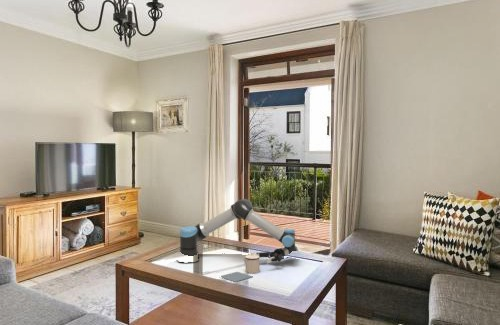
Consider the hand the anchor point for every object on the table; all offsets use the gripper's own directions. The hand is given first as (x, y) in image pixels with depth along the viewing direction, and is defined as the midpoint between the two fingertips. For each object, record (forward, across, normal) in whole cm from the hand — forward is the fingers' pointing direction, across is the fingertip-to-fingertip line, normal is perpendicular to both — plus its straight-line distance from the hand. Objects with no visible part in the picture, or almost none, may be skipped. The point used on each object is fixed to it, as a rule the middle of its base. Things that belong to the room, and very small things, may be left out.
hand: (259, 259), depth 197 cm
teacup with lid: (+7, 0, -6) cm, 10 cm away
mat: (+22, -2, -6) cm, 23 cm away
